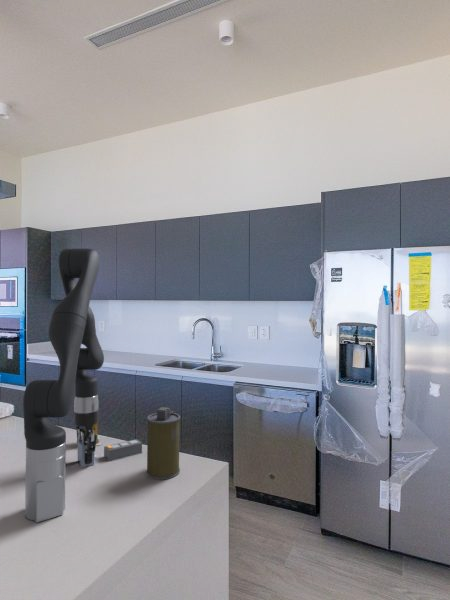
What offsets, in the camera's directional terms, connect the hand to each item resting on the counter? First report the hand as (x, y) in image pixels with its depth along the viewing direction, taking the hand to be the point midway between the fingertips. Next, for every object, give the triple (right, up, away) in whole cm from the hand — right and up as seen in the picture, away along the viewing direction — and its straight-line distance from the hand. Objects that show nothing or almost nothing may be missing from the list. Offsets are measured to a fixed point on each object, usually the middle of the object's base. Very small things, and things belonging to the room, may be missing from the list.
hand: (85, 460), depth 125 cm
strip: (+10, -1, +8) cm, 13 cm away
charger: (-1, -1, -1) cm, 2 cm away
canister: (+26, -2, -5) cm, 27 cm away
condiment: (-6, -1, +18) cm, 19 cm away
